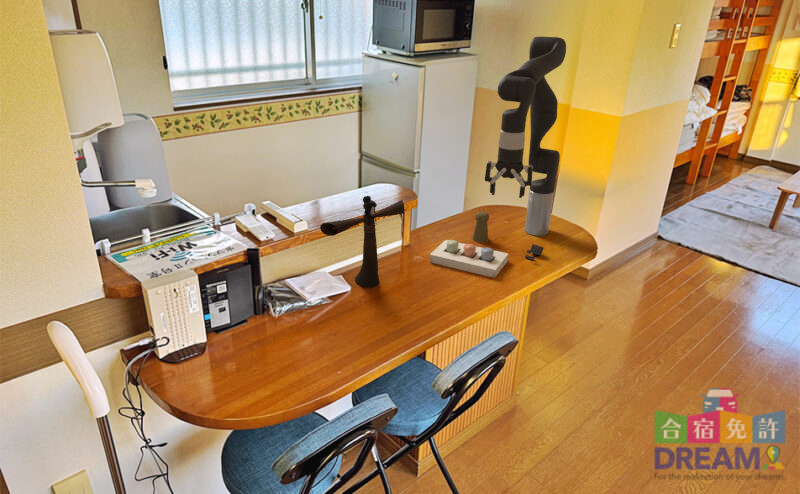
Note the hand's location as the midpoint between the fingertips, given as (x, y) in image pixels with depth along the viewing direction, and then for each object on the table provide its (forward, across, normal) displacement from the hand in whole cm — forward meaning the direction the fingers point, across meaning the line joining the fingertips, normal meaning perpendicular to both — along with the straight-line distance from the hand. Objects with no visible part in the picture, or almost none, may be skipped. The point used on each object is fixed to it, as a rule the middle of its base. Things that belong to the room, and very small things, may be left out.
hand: (506, 195), depth 172 cm
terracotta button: (+27, +12, -7) cm, 30 cm away
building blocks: (+29, -10, -18) cm, 36 cm away
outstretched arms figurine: (+28, +41, +18) cm, 53 cm away
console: (+29, +12, -7) cm, 32 cm away
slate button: (+27, +5, -6) cm, 28 cm away
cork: (+29, +11, -27) cm, 41 cm away
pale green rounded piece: (+27, +18, -8) cm, 33 cm away
